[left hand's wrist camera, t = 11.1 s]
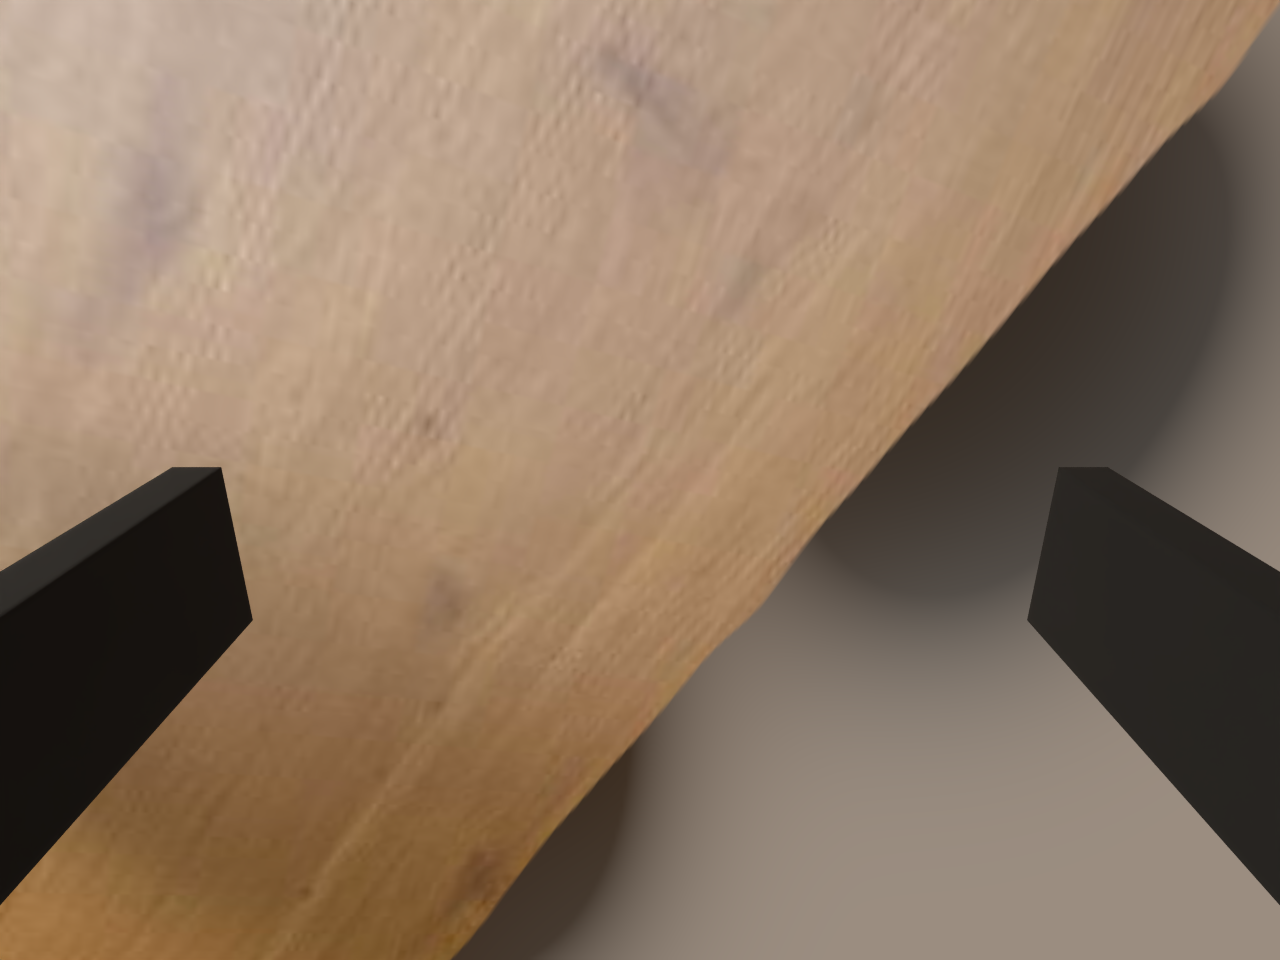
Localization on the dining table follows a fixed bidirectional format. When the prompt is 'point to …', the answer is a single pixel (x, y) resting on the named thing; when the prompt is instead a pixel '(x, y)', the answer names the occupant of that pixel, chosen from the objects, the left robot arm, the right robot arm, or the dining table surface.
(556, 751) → the dining table surface
